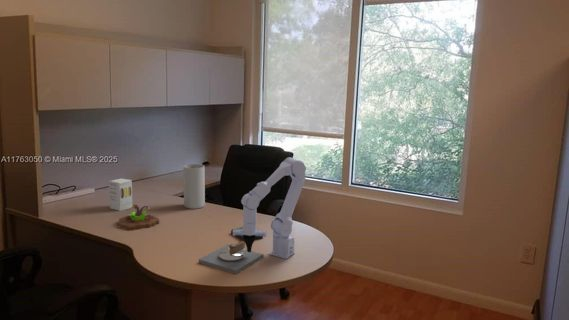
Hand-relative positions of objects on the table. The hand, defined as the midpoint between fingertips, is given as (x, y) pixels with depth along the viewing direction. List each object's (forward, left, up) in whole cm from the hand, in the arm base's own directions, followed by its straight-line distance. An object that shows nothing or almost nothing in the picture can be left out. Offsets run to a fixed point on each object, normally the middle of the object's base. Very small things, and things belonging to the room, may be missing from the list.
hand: (249, 251), depth 192 cm
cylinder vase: (+74, -46, -4) cm, 87 cm away
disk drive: (+18, -23, -4) cm, 29 cm away
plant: (+76, -5, -4) cm, 77 cm away
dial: (+6, +3, -2) cm, 7 cm away
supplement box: (+106, -18, -4) cm, 107 cm away
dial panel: (+6, +5, -4) cm, 9 cm away
